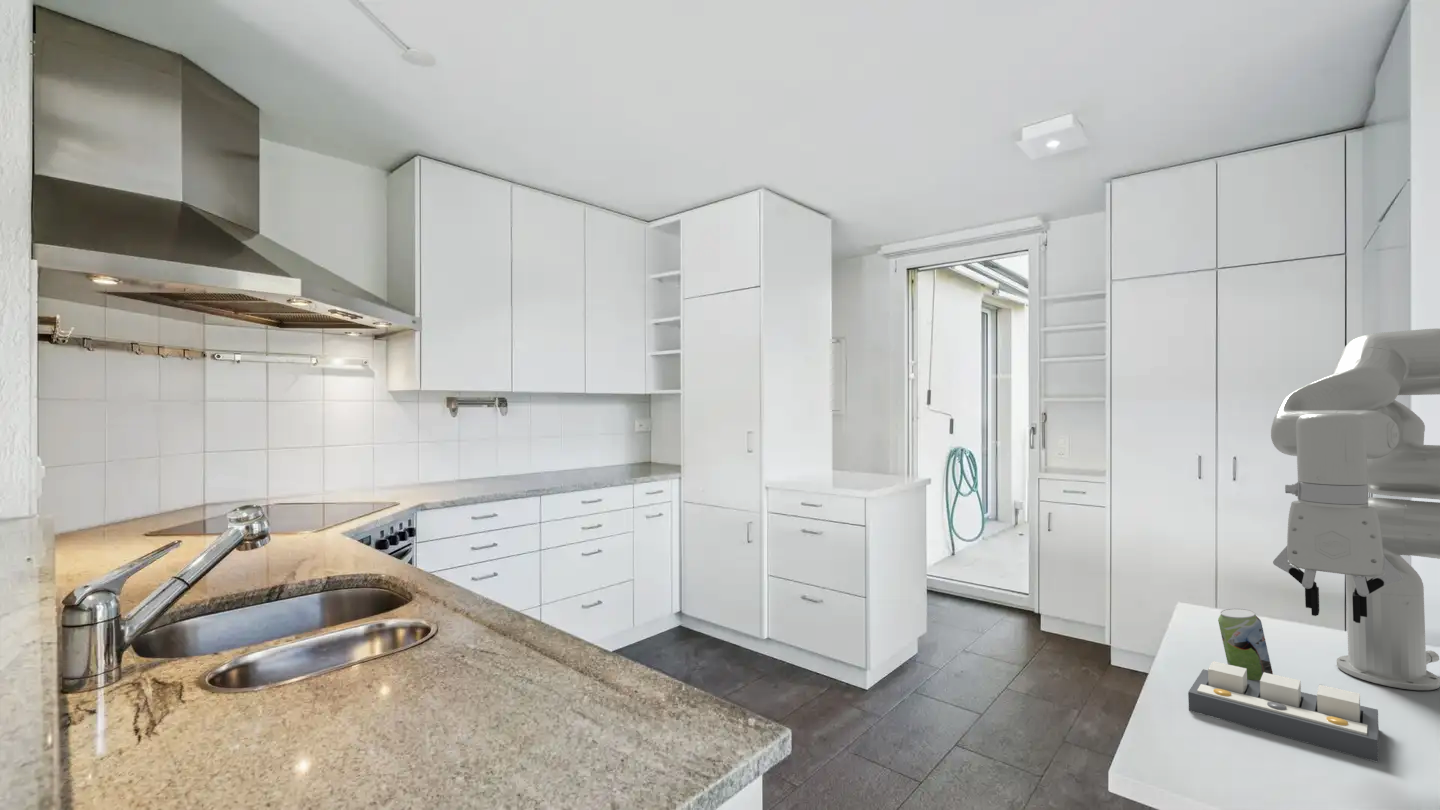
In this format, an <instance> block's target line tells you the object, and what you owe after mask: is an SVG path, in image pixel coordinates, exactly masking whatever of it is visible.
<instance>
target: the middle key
mask: <svg viewBox="0 0 1440 810" xmlns="http://www.w3.org/2000/svg"><path fill="white" fill-rule="evenodd" d="M1301 683H1302V682H1301V679H1296V678H1291V677H1287V676H1282V675H1277V674H1274V673H1273V674H1269V673H1265V672H1263V675H1262V677H1261V680H1260V698H1262V699H1266V700H1270V701H1274V702H1278V703H1282V704H1286V705H1291V706H1295V707H1299V706H1300V702H1301V692H1302V688H1301V687H1302V686H1301V685H1302V684H1301Z"/></svg>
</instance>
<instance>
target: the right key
mask: <svg viewBox="0 0 1440 810" xmlns="http://www.w3.org/2000/svg"><path fill="white" fill-rule="evenodd" d="M1316 695H1317V710H1318V712H1319V713H1323V714H1327V715H1331V716H1335V717H1339V718H1344V719H1348V720H1352V721H1356V722H1360V706H1361V693H1359V692H1354V691H1350V690H1345V689H1341V688H1336V687H1331V686H1326V685H1323V684H1319V685H1318V687H1317V693H1316Z"/></svg>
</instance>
